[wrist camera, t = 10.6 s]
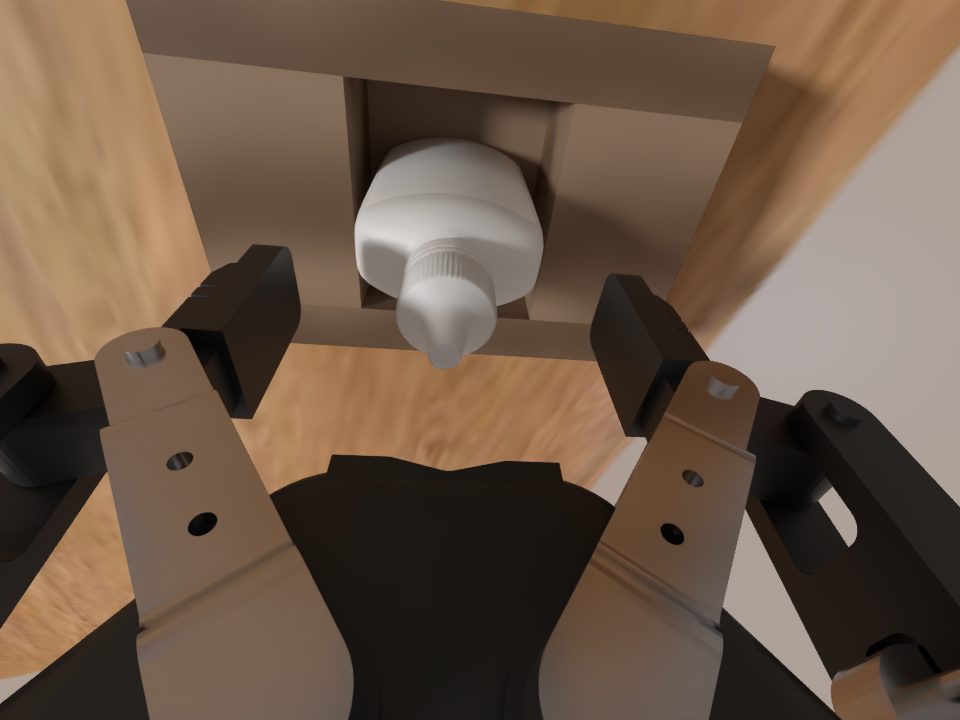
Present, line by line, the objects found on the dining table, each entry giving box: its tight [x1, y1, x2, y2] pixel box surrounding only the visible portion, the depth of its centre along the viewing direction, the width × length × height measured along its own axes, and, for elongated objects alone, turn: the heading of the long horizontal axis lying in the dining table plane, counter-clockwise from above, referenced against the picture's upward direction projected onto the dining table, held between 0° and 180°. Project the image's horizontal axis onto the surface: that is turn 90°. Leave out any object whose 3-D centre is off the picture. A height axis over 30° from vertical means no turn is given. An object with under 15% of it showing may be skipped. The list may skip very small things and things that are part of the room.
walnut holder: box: [126, 0, 776, 361], centre depth 17 cm, size 12×18×5 cm, turn 84°
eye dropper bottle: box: [355, 137, 544, 369], centre depth 14 cm, size 4×6×12 cm
